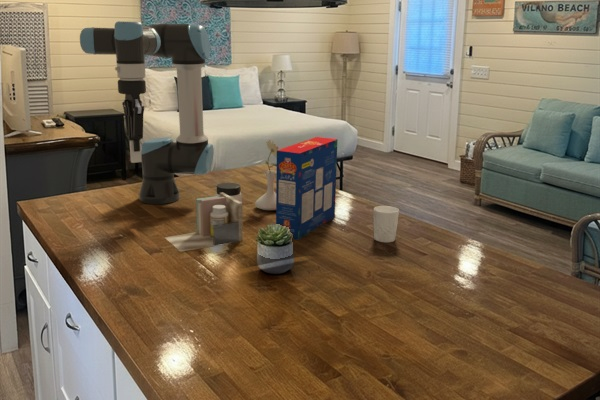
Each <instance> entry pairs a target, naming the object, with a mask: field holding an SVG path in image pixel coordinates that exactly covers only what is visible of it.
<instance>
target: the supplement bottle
mask: <svg viewBox="0 0 600 400" xmlns="http://www.w3.org/2000/svg"><path fill="white" fill-rule="evenodd" d="M225 223H229V222H228V212H226V207H225V206H224V205H214V206H213V212H211V214H210V225H211V238H212V239H213V225H219V224H225Z"/></svg>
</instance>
